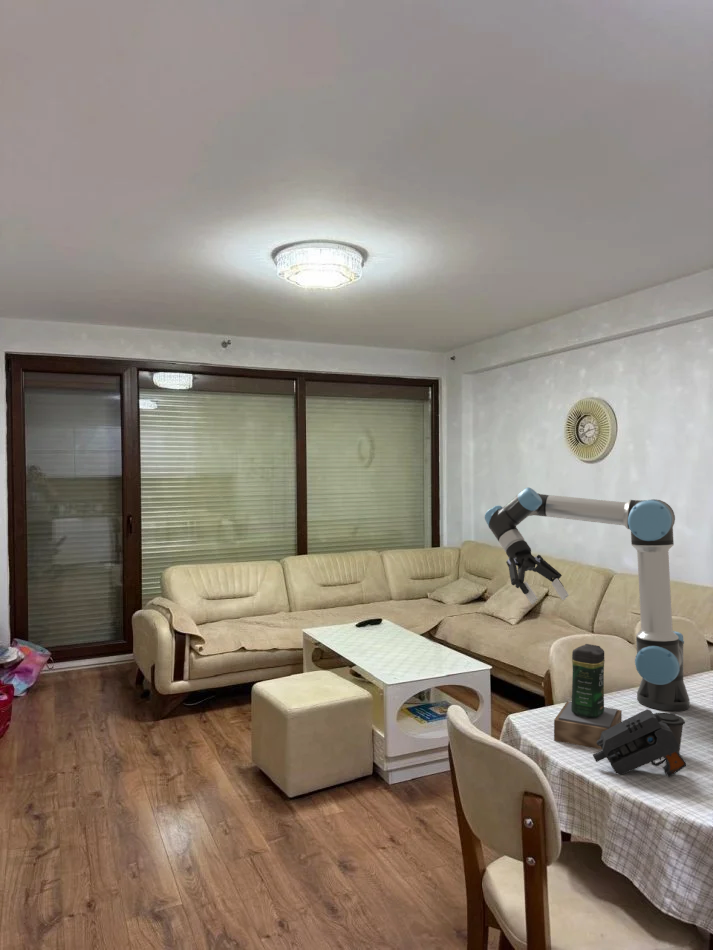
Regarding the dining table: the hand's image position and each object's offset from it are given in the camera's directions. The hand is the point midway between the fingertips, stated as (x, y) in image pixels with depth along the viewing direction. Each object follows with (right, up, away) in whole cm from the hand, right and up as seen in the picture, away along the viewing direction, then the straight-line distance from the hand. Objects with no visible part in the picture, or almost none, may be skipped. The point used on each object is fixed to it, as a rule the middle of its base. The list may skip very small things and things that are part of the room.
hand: (550, 599), depth 202 cm
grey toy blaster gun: (+8, -34, -44) cm, 56 cm away
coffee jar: (+4, -28, -20) cm, 35 cm away
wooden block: (+4, -34, -21) cm, 40 cm away
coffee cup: (+20, -34, -33) cm, 52 cm away
